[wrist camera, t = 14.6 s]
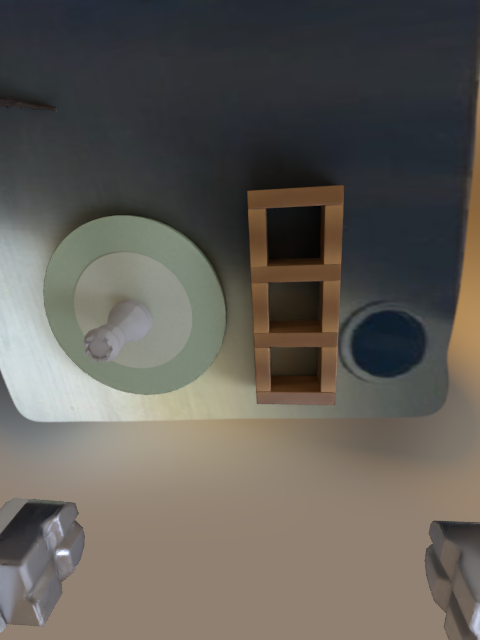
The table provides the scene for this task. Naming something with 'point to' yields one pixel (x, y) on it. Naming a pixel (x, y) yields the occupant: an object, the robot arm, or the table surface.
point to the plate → (142, 286)
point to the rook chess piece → (118, 331)
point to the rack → (296, 270)
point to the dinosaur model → (24, 104)
